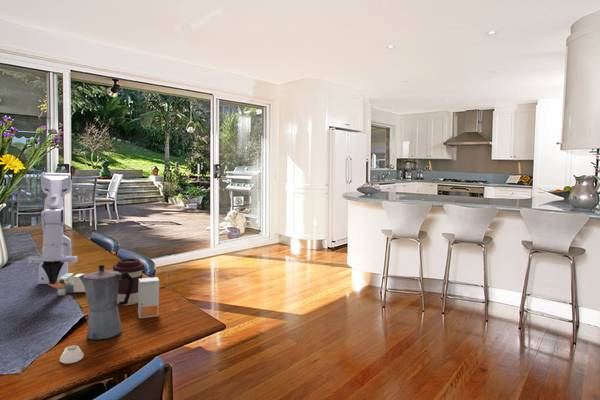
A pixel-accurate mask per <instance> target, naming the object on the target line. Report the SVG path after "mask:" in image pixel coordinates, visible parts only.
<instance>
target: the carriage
mask: <svg viewBox="0 0 600 400" xmlns="http://www.w3.org/2000/svg"><path fill="white" fill-rule="evenodd" d="M83 274H84V273H76V275H75V274H74V292H85V287H84V284H83V283H82V281H81V279H80V278H78V277H79V276H81V275H83Z"/></svg>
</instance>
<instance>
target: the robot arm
mask: <svg viewBox="0 0 600 400" xmlns="http://www.w3.org/2000/svg"><path fill="white" fill-rule="evenodd" d="M40 186H41V190H42V191H43V193H44V194H46V195H47V196H46V197H45V198H44V206H43V210H42V211H41V214H40V215H41V216H40V217H41V218H40V220H41V223H40V224H41V225H42V226H41V227H42V240H43V241H42V247H41V251H42V253H41V255H35V256H33V255H32V256H28V257H27V258H28V259H27V263H28V264H32V263H34V264H37V263H39V265H38V282H37V284H38V285H48V282H49V283H50V284H55V282H58V279H59V278H60V277H62V276H63V275H65V274H66V273H69V263H73V264H75V263H77V262H78V255H72V239H71V238H70V237H68V236H67V235H65V234H64V225H65V221H66V219H65V209H64V205H65V202H64V201H65V200H64V198H65V196H66V195H67V194H70V192H71V191H72V190H71V189H72V174H71V173H70V172H68V173H67V172H45V171H43V172H42V173H41V174H40Z"/></svg>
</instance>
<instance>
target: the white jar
mask: <svg viewBox="0 0 600 400" xmlns="http://www.w3.org/2000/svg"><path fill="white" fill-rule="evenodd" d="M84 356H85V355H84V352H83V351H82V349H81V348H80V346H79V345H69V346H67V347H65V348H64V351H63V352H62V354H61V356H60V358H59V362H60V363H62V364H73V363H77V362H79V361H81V360H82V359H83V358H84Z"/></svg>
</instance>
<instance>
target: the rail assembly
mask: <svg viewBox="0 0 600 400" xmlns="http://www.w3.org/2000/svg"><path fill="white" fill-rule="evenodd" d="M74 276H75V274H74V272H70V273H69V272H68V273H66V274H65V275H63V276H62V277H60V278H59V279H58V282H59V283H61V284H63V285H66V288H65V289H57V295H58V294H66V293H68V292H69V293H68V294H71V293H72V294H74V293H75V294H76V293H77V294H80V293H81V294H82V293H85V294H86V292H74ZM66 295H67V294H66Z"/></svg>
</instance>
